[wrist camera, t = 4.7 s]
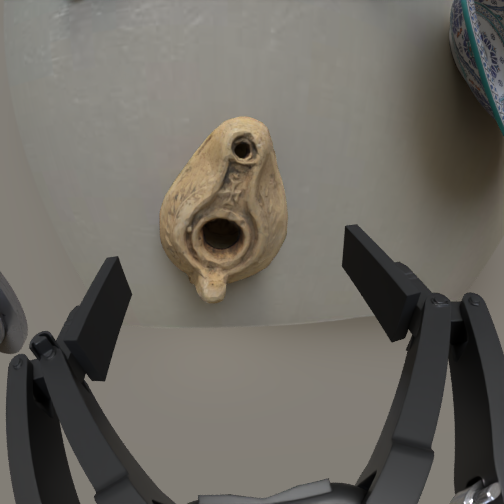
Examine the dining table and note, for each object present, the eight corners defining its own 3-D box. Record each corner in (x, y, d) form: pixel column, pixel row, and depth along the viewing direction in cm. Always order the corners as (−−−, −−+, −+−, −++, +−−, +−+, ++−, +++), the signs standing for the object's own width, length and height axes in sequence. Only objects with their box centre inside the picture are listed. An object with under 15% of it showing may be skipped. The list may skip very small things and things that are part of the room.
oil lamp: (286, 118, 23) (317, 123, 16) (274, 264, 30) (292, 313, 23) (161, 118, 21) (137, 122, 14) (171, 266, 28) (160, 318, 22)
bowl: (459, 175, 27) (512, 203, 19) (362, -9, 16) (417, -38, 8) (527, 103, 22) (568, 116, 13) (464, -35, 10) (508, -42, 2)
